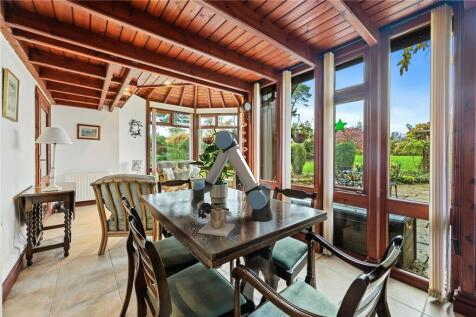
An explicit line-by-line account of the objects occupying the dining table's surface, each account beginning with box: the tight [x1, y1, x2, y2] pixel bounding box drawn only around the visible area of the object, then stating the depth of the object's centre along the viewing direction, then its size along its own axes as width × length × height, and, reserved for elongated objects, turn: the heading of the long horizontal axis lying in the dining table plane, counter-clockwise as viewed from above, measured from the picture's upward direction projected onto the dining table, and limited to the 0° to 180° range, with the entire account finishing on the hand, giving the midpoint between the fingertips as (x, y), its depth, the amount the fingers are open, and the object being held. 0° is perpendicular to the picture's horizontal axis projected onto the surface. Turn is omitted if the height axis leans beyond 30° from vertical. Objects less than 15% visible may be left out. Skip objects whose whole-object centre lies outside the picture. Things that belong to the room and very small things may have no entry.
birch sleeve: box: [210, 208, 226, 230], centre depth 123 cm, size 6×6×10 cm
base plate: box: [198, 220, 236, 238], centre depth 123 cm, size 16×16×5 cm
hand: (220, 216), depth 120 cm, fingers open, 13 cm apart
